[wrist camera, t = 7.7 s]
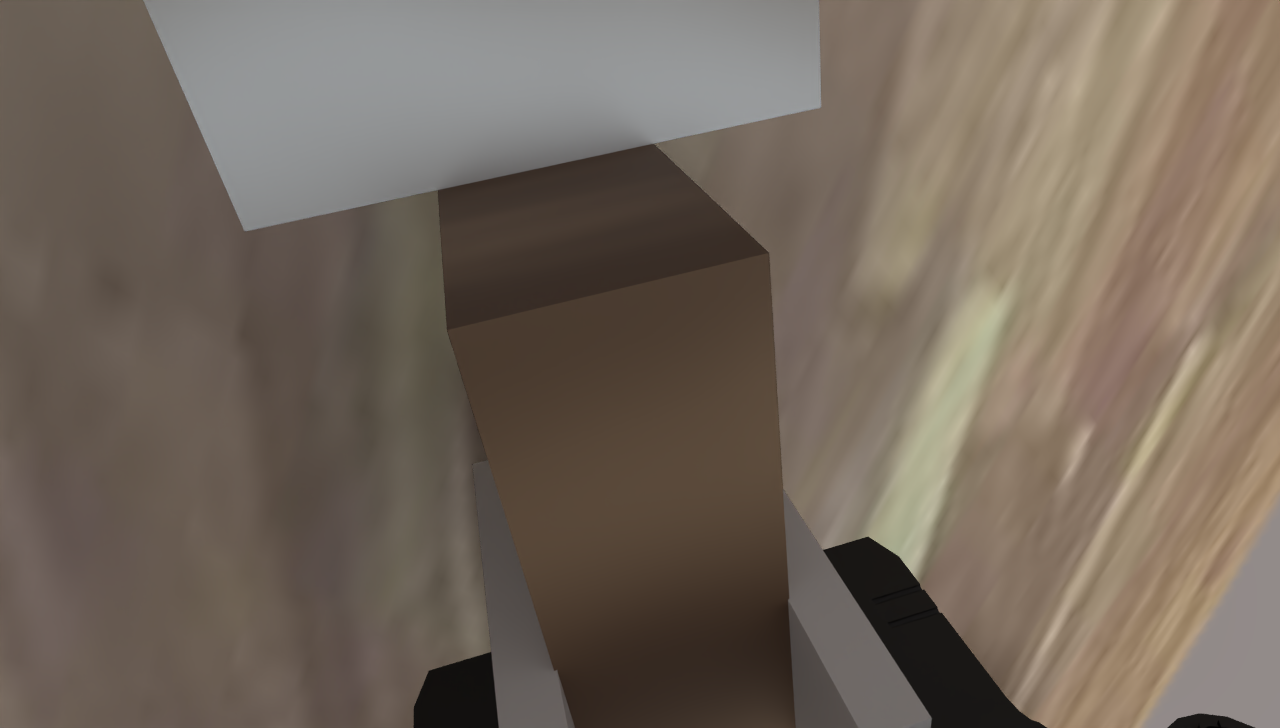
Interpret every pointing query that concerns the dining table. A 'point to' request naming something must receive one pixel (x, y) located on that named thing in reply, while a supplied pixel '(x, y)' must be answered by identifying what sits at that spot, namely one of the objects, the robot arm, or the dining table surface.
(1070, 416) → the dining table surface
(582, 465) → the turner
